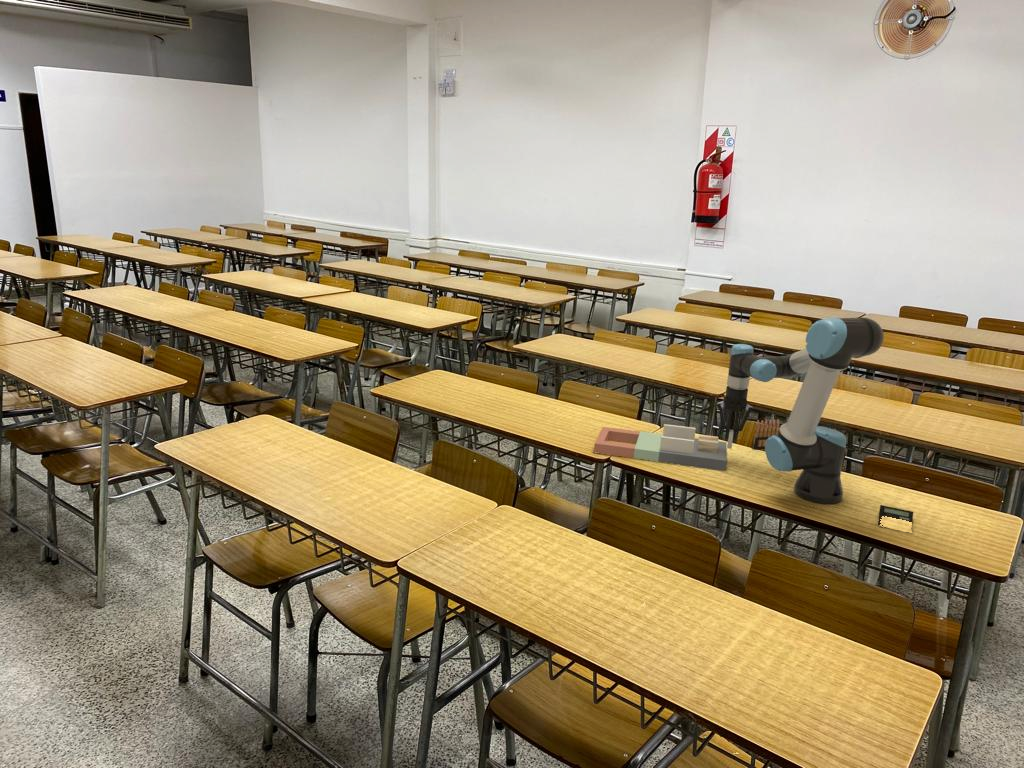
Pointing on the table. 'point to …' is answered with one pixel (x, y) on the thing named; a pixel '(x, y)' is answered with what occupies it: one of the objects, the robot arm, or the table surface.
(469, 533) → the table surface
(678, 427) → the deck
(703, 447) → the block
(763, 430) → the ammunition clip
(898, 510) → the calculator
